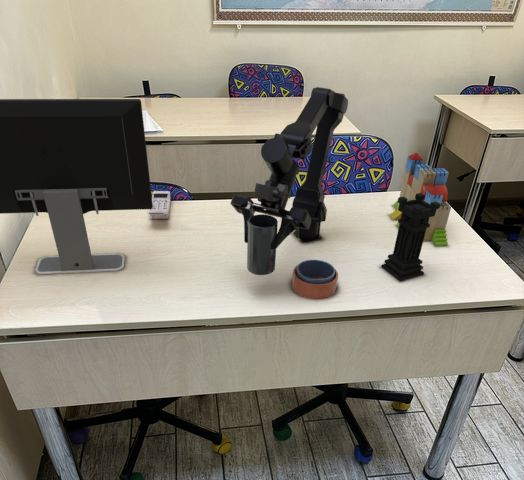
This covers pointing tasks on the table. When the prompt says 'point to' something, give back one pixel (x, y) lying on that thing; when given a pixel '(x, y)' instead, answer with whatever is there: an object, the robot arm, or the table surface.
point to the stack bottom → (314, 287)
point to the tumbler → (261, 244)
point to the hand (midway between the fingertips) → (259, 245)
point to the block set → (426, 195)
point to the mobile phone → (160, 205)
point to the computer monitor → (73, 170)
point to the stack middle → (315, 271)
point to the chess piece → (410, 237)
